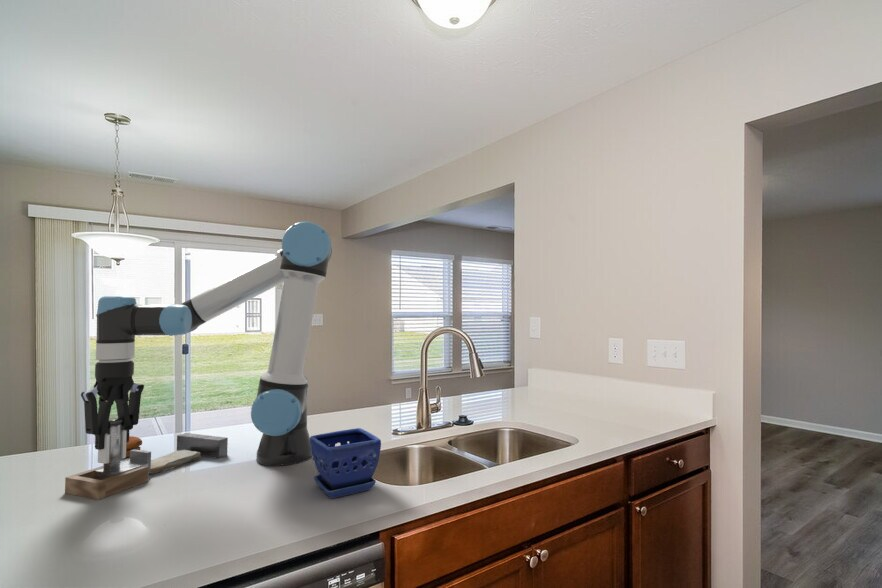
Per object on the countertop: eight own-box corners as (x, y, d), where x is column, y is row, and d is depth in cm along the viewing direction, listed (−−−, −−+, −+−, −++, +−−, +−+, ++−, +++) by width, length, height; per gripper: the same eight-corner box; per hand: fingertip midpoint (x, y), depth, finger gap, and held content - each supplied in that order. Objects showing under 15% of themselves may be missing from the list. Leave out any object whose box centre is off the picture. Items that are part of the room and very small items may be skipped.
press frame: (148, 481, 108) (148, 466, 108) (98, 499, 97) (98, 483, 97) (116, 475, 112) (117, 461, 112) (64, 493, 101) (65, 477, 101)
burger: (135, 458, 126) (135, 441, 126) (96, 461, 123) (96, 444, 123) (145, 448, 135) (146, 432, 136) (109, 451, 132) (110, 435, 133)
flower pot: (325, 505, 94) (326, 448, 95) (308, 485, 106) (308, 434, 106) (382, 492, 101) (382, 439, 102) (360, 474, 113) (361, 426, 113)
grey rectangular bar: (227, 455, 128) (227, 437, 128) (218, 458, 125) (219, 440, 125) (185, 449, 133) (186, 432, 134) (176, 452, 131) (177, 435, 131)
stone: (152, 478, 111) (152, 468, 112) (127, 471, 116) (127, 461, 116) (206, 460, 125) (206, 451, 125) (182, 455, 129) (182, 446, 129)
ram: (151, 472, 111) (153, 414, 112) (113, 485, 102) (115, 422, 103) (132, 469, 114) (133, 412, 114) (93, 481, 105) (95, 420, 105)
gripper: (137, 357, 116) (134, 448, 114) (66, 363, 100) (62, 469, 99) (158, 357, 113) (155, 451, 112) (89, 364, 98) (85, 473, 97)
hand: (112, 459), depth 106 cm, fingers closed on ram, 3 cm apart
